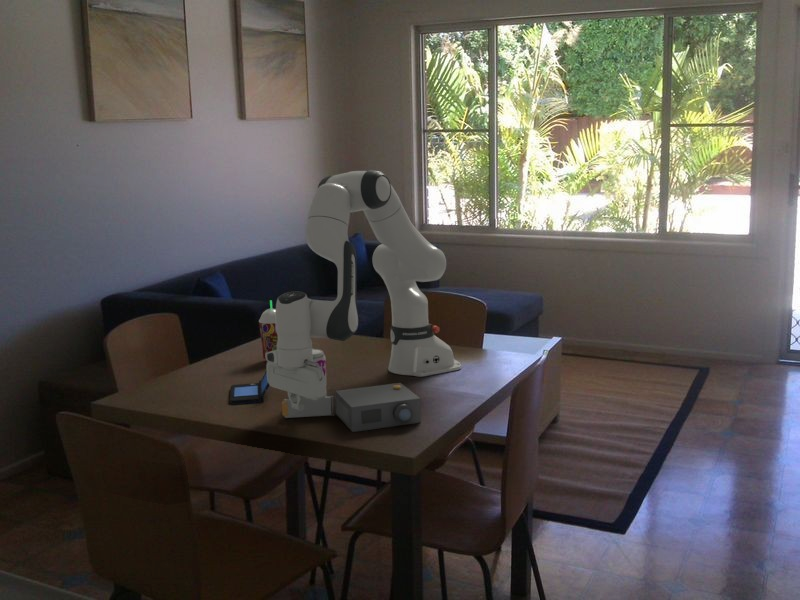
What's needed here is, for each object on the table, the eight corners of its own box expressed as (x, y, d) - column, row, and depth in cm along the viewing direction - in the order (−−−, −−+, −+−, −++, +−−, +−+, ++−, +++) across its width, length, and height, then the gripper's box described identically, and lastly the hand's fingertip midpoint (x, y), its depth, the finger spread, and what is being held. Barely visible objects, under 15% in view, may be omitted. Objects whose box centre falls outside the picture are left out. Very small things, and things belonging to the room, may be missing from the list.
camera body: (401, 405, 241) (400, 380, 239) (424, 425, 225) (423, 398, 223) (335, 414, 235) (334, 388, 234) (354, 435, 219) (353, 407, 217)
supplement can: (333, 404, 243) (331, 351, 240) (311, 412, 237) (308, 357, 234) (313, 399, 249) (310, 346, 246) (290, 406, 243) (287, 352, 240)
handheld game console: (231, 389, 261) (229, 358, 259) (277, 386, 263) (275, 355, 261) (229, 405, 246) (227, 373, 244) (279, 402, 248) (277, 369, 246)
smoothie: (275, 365, 285) (272, 303, 281) (255, 362, 289) (252, 301, 285) (292, 359, 292) (289, 299, 288) (272, 356, 296) (269, 297, 292)
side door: (334, 415, 234) (334, 396, 233) (282, 418, 232) (281, 399, 231) (334, 414, 235) (334, 395, 234) (283, 417, 233) (282, 398, 232)
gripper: (331, 361, 220) (333, 415, 223) (280, 348, 235) (283, 398, 237) (311, 366, 216) (313, 421, 219) (261, 352, 230) (264, 404, 233)
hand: (297, 409), depth 228 cm, fingers closed
